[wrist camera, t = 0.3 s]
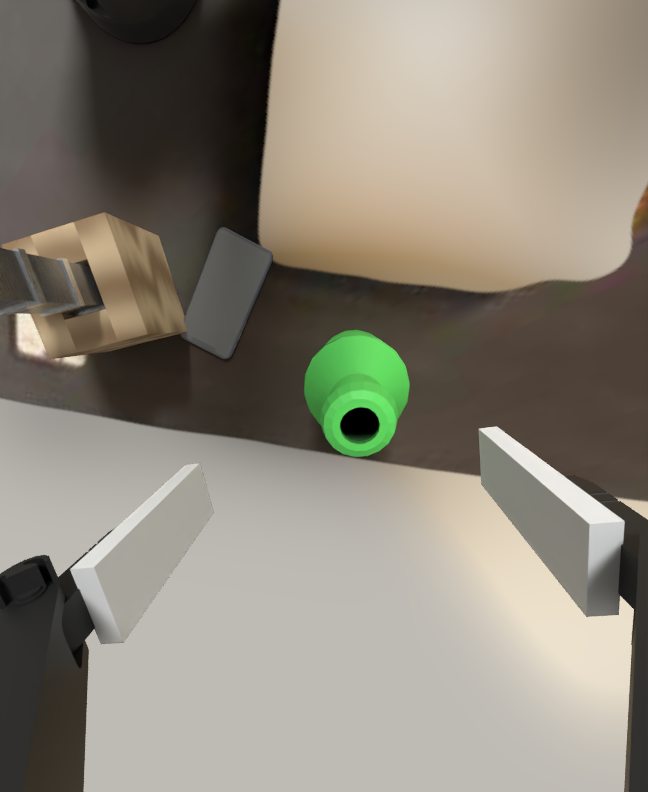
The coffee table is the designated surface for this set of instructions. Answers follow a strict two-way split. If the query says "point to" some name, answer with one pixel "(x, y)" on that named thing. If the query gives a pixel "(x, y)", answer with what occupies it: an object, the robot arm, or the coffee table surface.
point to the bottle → (357, 392)
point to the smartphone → (226, 293)
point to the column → (46, 285)
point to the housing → (109, 286)
